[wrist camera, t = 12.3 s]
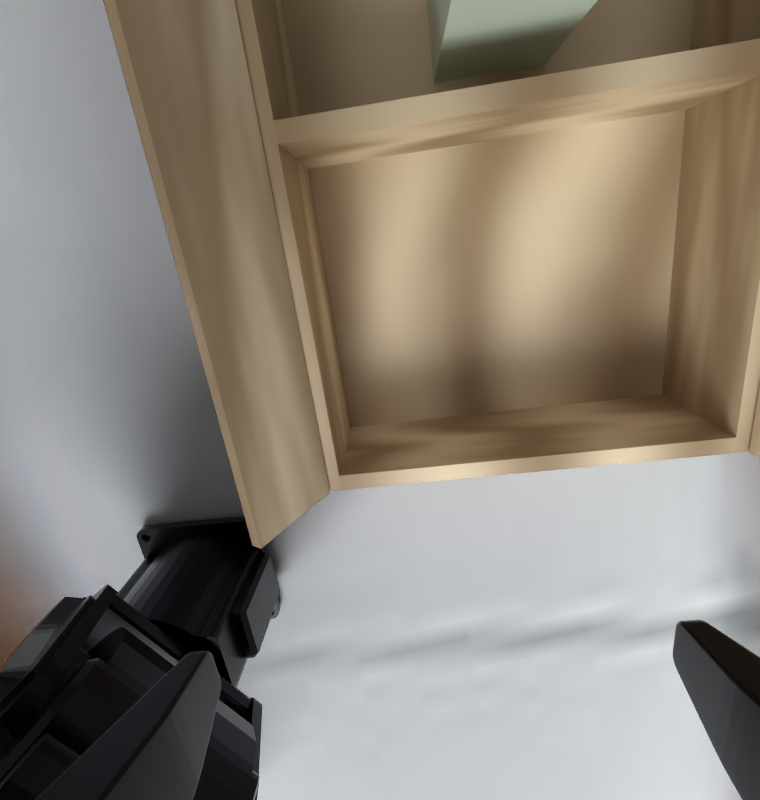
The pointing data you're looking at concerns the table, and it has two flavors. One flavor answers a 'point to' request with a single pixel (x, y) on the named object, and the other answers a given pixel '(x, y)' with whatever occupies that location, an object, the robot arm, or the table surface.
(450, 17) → the box
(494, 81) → the wooden cubby shelf
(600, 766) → the table surface
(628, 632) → the table surface
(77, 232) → the table surface
